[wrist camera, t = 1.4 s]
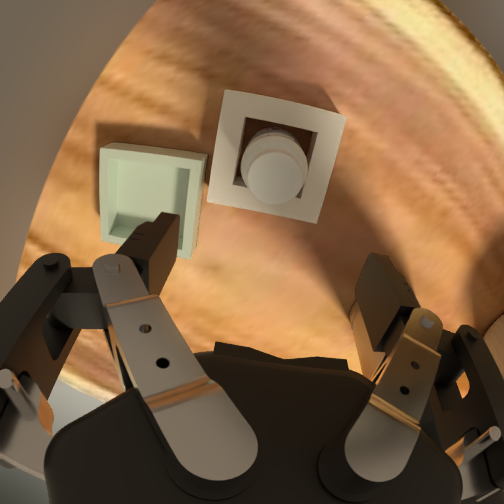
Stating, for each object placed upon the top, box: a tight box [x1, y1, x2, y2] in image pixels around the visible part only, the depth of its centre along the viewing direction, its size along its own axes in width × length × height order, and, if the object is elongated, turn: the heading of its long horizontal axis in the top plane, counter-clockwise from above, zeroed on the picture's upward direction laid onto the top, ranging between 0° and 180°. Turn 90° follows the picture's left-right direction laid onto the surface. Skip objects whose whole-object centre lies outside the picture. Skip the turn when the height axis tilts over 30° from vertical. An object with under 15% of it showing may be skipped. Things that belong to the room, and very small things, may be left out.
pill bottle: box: [241, 127, 308, 205], centre depth 25 cm, size 5×5×10 cm
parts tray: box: [99, 142, 208, 259], centre depth 31 cm, size 11×11×3 cm
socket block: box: [207, 89, 347, 224], centre depth 28 cm, size 11×11×3 cm
